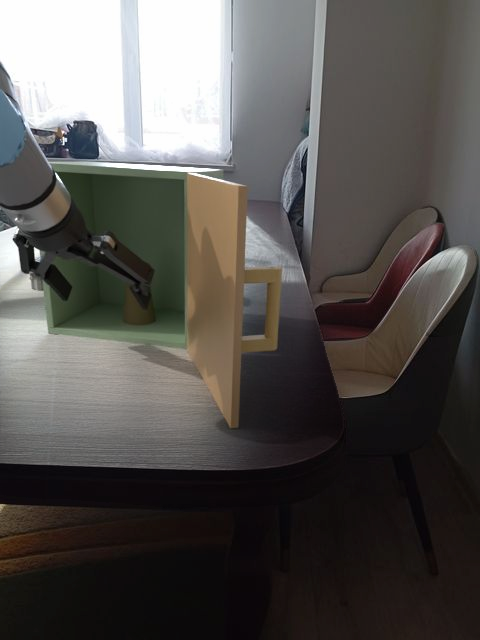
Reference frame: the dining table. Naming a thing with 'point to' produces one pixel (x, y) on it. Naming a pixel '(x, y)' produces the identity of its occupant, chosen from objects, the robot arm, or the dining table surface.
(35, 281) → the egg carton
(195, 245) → the cabinet door
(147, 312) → the olive brown pawn
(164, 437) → the dining table surface
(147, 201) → the cabinet
